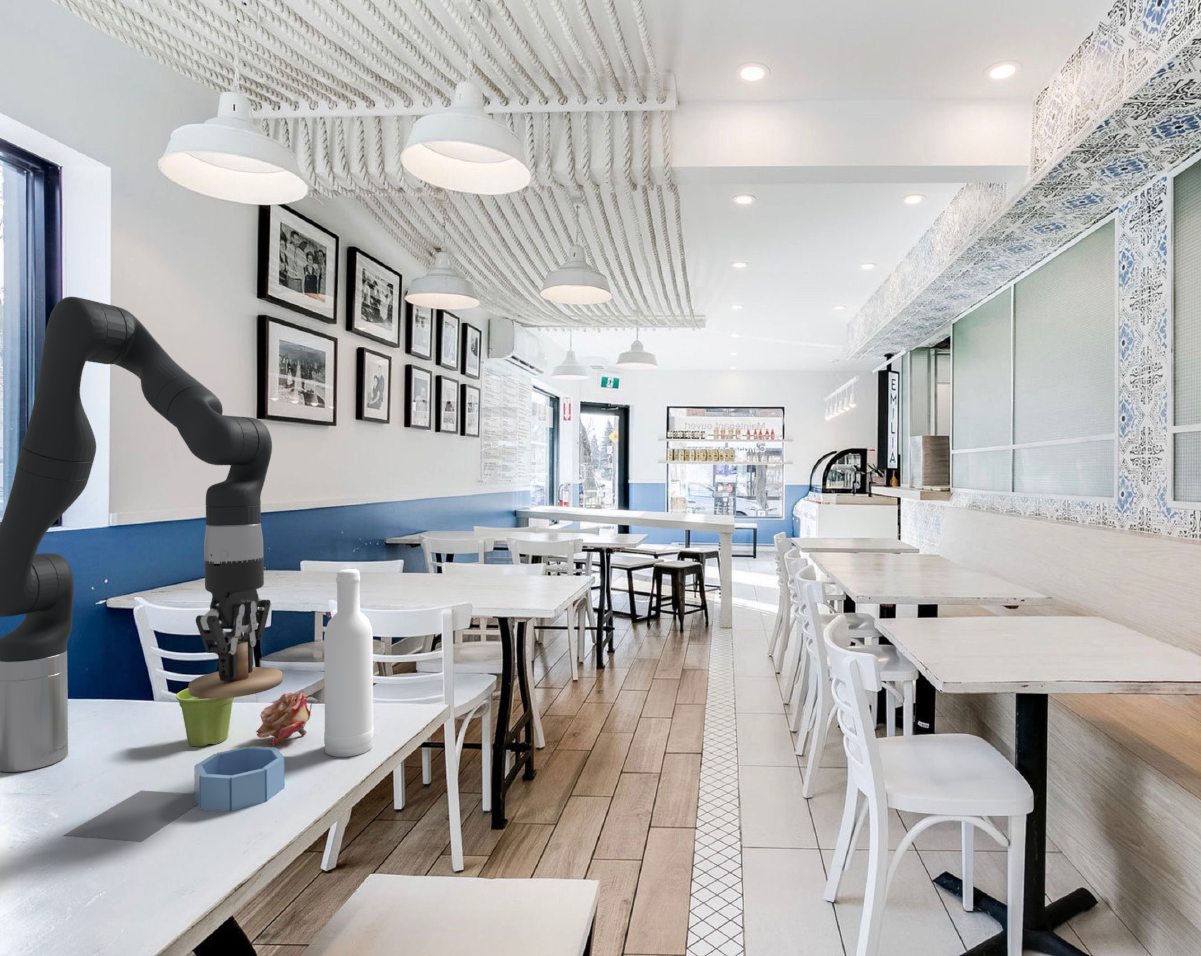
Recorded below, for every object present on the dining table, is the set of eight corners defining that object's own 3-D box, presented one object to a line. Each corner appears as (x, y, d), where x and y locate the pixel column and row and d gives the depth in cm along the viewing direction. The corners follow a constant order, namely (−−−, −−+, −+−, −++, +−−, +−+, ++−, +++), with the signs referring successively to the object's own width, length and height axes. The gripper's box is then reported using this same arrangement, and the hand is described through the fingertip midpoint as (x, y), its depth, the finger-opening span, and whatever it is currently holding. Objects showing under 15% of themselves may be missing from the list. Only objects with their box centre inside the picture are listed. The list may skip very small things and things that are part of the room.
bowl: (178, 811, 100) (178, 775, 100) (229, 777, 111) (229, 745, 111) (252, 816, 99) (252, 779, 99) (297, 781, 110) (296, 748, 110)
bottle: (339, 761, 117) (338, 575, 117) (315, 749, 122) (313, 570, 122) (383, 747, 123) (382, 570, 123) (358, 736, 128) (357, 566, 128)
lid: (168, 696, 99) (167, 652, 99) (226, 672, 111) (225, 633, 111) (249, 700, 97) (248, 655, 97) (299, 675, 109) (298, 635, 109)
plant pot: (212, 753, 121) (211, 701, 121) (163, 748, 123) (162, 697, 123) (249, 733, 130) (249, 684, 130) (203, 729, 132) (203, 681, 132)
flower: (309, 714, 135) (281, 684, 132) (335, 715, 129) (307, 683, 126) (269, 758, 128) (239, 727, 125) (296, 761, 122) (265, 728, 119)
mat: (63, 839, 93) (63, 835, 93) (141, 794, 105) (141, 790, 105) (141, 845, 91) (141, 841, 91) (211, 799, 104) (210, 794, 104)
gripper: (241, 550, 112) (243, 663, 112) (174, 562, 98) (177, 690, 98) (287, 550, 110) (288, 664, 111) (226, 562, 96) (228, 692, 97)
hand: (236, 676), depth 104 cm, fingers closed on lid, 3 cm apart
